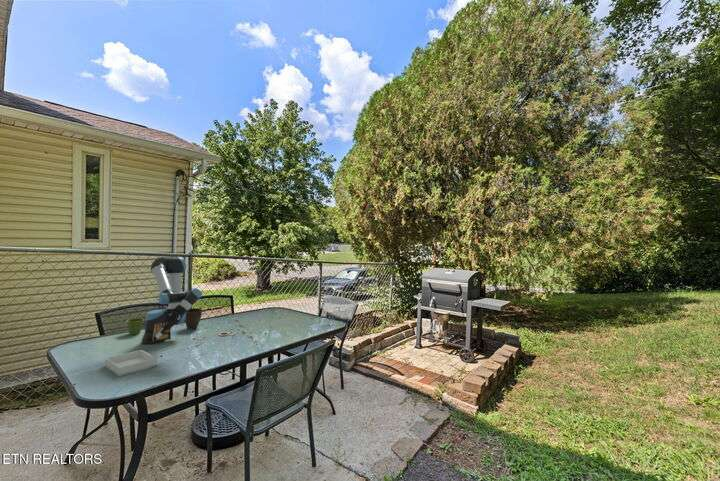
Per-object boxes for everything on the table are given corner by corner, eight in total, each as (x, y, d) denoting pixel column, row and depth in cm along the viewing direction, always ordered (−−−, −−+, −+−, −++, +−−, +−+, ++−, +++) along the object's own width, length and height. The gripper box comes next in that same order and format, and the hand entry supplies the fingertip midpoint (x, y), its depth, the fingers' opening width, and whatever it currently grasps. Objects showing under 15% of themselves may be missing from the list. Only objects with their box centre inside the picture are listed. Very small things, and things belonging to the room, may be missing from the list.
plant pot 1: (136, 336, 250) (137, 322, 250) (121, 335, 250) (122, 321, 250) (147, 332, 261) (147, 318, 261) (132, 331, 262) (133, 317, 262)
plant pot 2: (178, 329, 272) (179, 311, 272) (190, 325, 287) (191, 307, 287) (193, 331, 270) (194, 312, 270) (205, 326, 285) (206, 309, 285)
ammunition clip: (153, 342, 204) (154, 324, 204) (151, 341, 205) (153, 323, 205) (170, 339, 213) (172, 321, 213) (169, 338, 214) (170, 320, 214)
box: (104, 366, 192) (104, 358, 192) (141, 357, 209) (141, 349, 209) (119, 376, 180) (119, 367, 180) (156, 366, 197) (157, 358, 197)
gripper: (192, 312, 218) (165, 342, 204) (181, 309, 226) (154, 337, 212) (184, 306, 213) (156, 336, 199) (173, 302, 221) (145, 331, 208)
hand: (155, 336), depth 206 cm, fingers closed on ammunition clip, 2 cm apart
